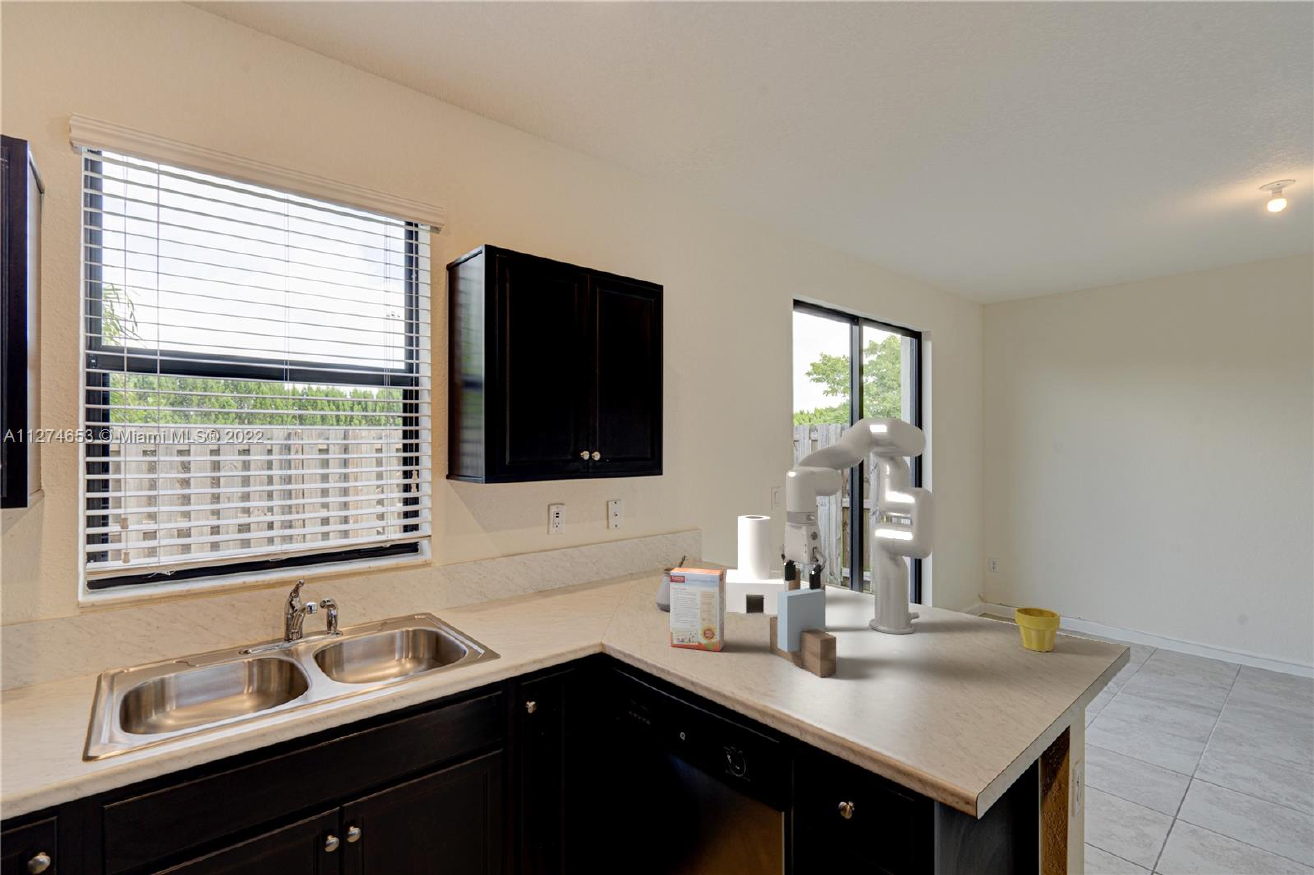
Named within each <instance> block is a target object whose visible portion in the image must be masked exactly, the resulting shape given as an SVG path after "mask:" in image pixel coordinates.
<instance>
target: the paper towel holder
mask: <svg viewBox="0 0 1314 875" xmlns="http://www.w3.org/2000/svg"><path fill="white" fill-rule="evenodd" d="M771 526H772V519H771V517H770V516H768V515H755V514H753V515H752V514H751V515H750V514H749V515H748V514H747V515H740V516H739V515H738V516H737V542H738V543H737V553H738V554H737V569H726V575H725V576H726V577H725V578H726V579H725V613H726V612H739V613H738V614H747V595H754V596H755V595H756V596H757V595H758V596H759V595H761V599H762V598H764V599H763V614H764V613H766V614H765V615H775V614H778V592H784V591H785V582H784V581H785V580H784V577H783V573H782V570H771V569H772V568H771V566H772V564H771V563H772V558H771V556H772V550H771V549H772V545H771V544H772V543H771V541H772V540H771V539H772V538H771V536H772V532H771V531H772V530H771V528H772V527H771Z"/></svg>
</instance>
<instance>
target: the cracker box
mask: <svg viewBox="0 0 1314 875" xmlns="http://www.w3.org/2000/svg"><path fill="white" fill-rule="evenodd" d="M674 568H675V569H674V570H672V571H671V572H670V611H669V612H670V615H669V616H670V617H669V618H670V619H669V620H670V621H669V622H670V623H669V624H670V626H669V628H670V630H669V631H670V634H669V635H670V647H673V648H676V647H677V648H685V649H693V650H700V651H701V650H702V651H712V652H721V650H722V649H723V647H724V646H725V593H724V592H725V587H724V586H725V585H724V584H725V581H724V579H725V578H724V572H725V571H724V570H722V569H721V570H719V569H718V570H717V569H703V568H690V567H681V568H678V567H674Z"/></svg>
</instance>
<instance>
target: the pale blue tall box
mask: <svg viewBox="0 0 1314 875" xmlns="http://www.w3.org/2000/svg"><path fill="white" fill-rule="evenodd" d="M777 616H778V648H780V649H782V650H784V651H786V652H792V651H797V650H801V631H807V630H813V629H819V630H821V631H823V632H826V589H825V590H822V589H815V590H810V588H809V587H808V588H806V587H805V588H801V589H798V590H791V591H788V590H787V591H785V590H784V592H778V615H777Z"/></svg>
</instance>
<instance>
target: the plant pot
mask: <svg viewBox="0 0 1314 875" xmlns="http://www.w3.org/2000/svg"><path fill="white" fill-rule="evenodd" d="M1060 617H1061V616H1060V614H1059V612H1056V611H1054V610H1052V609H1051V610H1050V609H1048V608H1040V607H1033V606H1022V607H1017V608H1015V610H1014V619H1015V623H1016V624H1017V626H1018V629H1019V633H1020V636H1021V641H1022V646H1023V647H1024V648H1025V649H1027V648H1028V649H1027V650H1029V649H1031V650H1030V651H1033V650H1035V651H1034V652H1039V651H1041V653H1047V652H1046V651H1049V652H1051V651H1053V647H1054V643H1055V638H1056V633H1057V630H1058V629H1060V627H1061V618H1060Z"/></svg>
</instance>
